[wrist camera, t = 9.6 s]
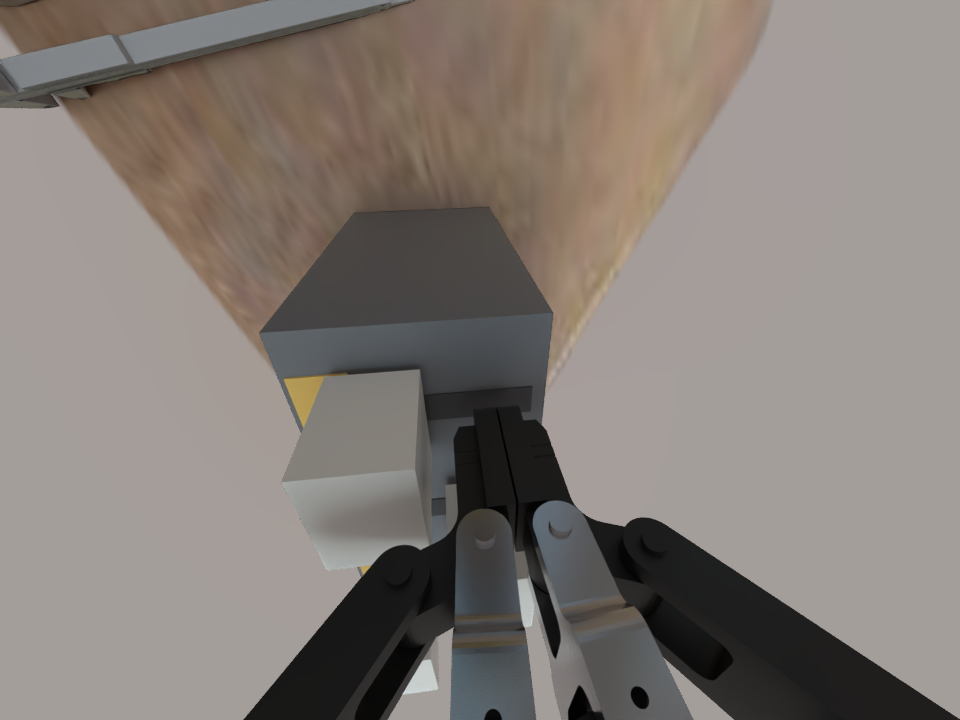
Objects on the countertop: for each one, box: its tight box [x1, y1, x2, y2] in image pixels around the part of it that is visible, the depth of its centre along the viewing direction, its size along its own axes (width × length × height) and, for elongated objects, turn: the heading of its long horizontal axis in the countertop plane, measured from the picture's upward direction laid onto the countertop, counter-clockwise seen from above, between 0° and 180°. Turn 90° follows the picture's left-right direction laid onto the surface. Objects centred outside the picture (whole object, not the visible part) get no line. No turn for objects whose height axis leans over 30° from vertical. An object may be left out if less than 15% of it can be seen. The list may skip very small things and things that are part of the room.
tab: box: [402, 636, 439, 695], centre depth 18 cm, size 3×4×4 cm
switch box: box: [259, 207, 553, 577], centre depth 23 cm, size 9×19×16 cm, turn 1°
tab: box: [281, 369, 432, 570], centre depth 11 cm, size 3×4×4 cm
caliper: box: [0, 0, 415, 108], centre depth 16 cm, size 20×1×6 cm, turn 103°
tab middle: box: [445, 484, 535, 627], centre depth 15 cm, size 3×4×4 cm
